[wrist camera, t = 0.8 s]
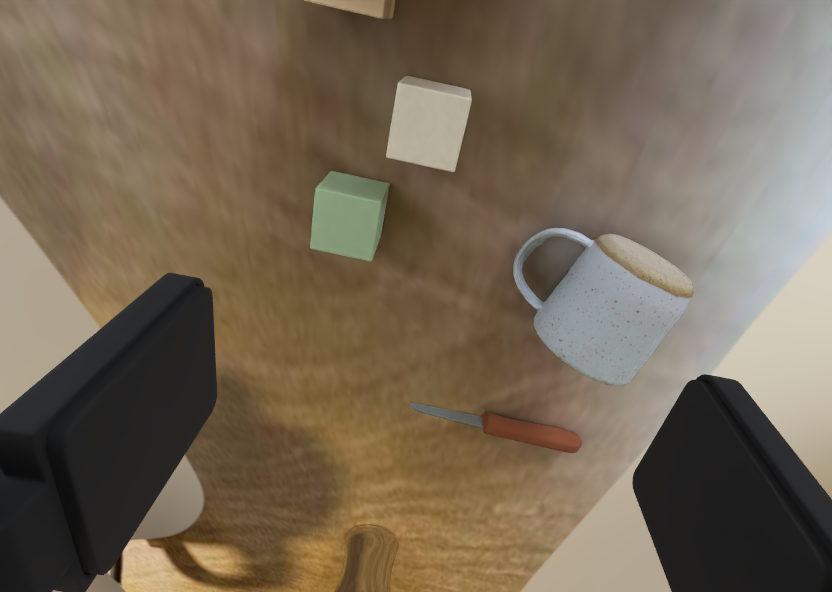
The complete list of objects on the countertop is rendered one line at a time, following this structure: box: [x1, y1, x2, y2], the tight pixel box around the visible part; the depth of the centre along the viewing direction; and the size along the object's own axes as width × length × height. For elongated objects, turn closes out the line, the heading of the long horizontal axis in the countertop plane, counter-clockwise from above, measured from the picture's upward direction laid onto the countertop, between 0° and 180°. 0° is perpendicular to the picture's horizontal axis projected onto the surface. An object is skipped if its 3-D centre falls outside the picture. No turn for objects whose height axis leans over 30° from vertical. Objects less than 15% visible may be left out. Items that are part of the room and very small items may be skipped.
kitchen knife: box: [409, 403, 582, 453], centre depth 42 cm, size 16×1×2 cm, turn 77°
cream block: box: [386, 75, 472, 172], centre depth 29 cm, size 4×4×4 cm
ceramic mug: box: [513, 228, 694, 386], centre depth 32 cm, size 11×8×8 cm
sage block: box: [310, 171, 390, 261], centre depth 33 cm, size 4×4×4 cm
